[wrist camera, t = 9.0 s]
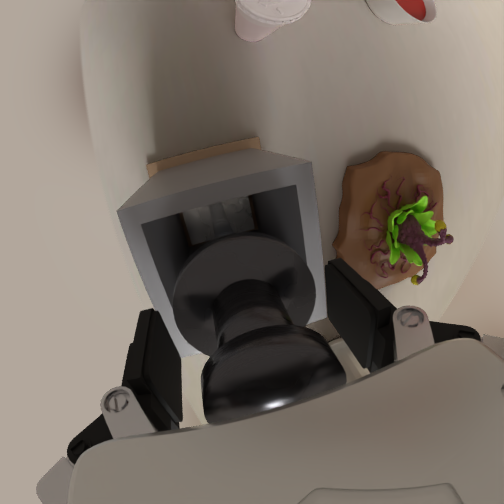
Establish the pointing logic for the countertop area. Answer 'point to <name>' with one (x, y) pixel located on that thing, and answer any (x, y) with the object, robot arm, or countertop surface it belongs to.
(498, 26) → the countertop surface
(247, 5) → the smoothie
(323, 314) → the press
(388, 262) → the plant
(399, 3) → the candle
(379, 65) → the countertop surface
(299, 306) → the plunger
